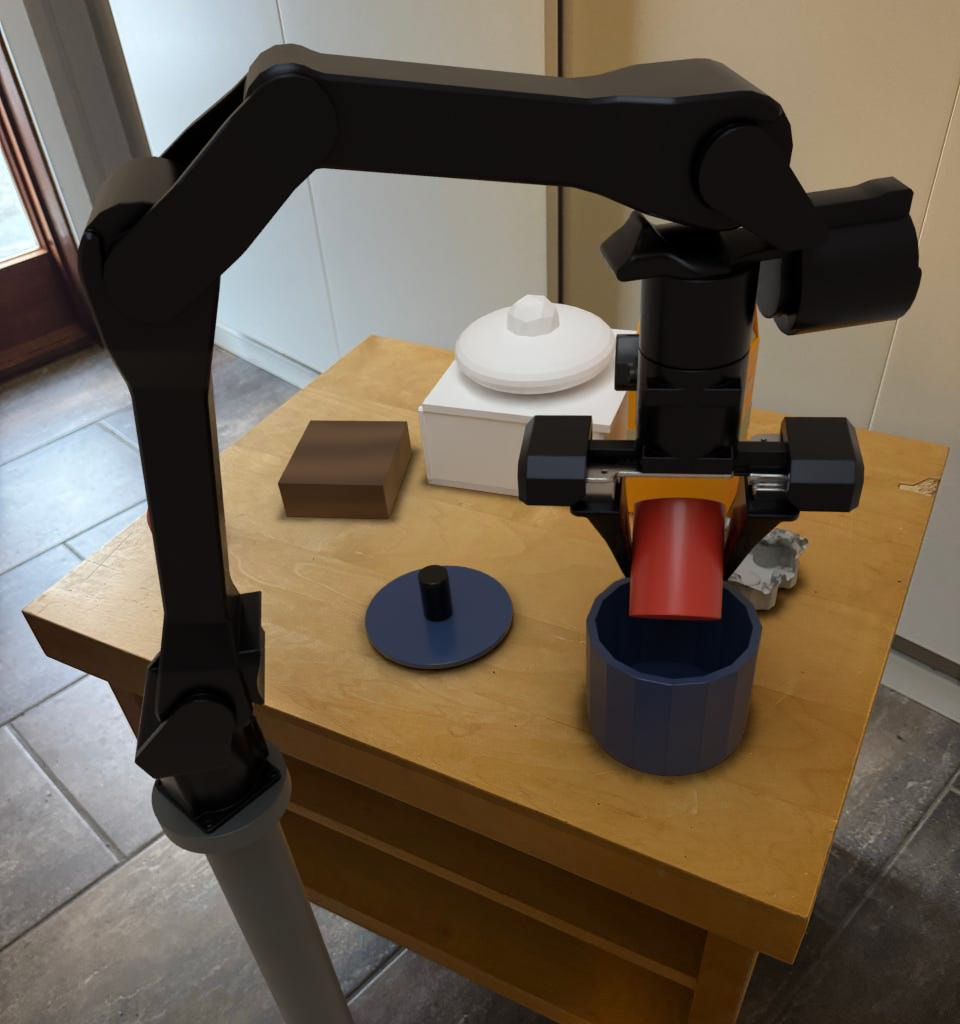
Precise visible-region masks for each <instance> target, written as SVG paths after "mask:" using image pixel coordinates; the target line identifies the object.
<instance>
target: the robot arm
mask: <svg viewBox="0 0 960 1024" xmlns="http://www.w3.org/2000/svg"><path fill="white" fill-rule="evenodd" d="M793 148H794V141H793V131H792V124H791V123H790V120H789V118H788V116H787V114H786V113H785V110H784V108H783V106H782V104H781V103H780V102H778V101H777V100H776V99H774V98H773V97H772V96H770V95H769V94H767V93H766V92H765V91H763V90H762V89H761V88H759V87H757V86H756V85H755V84H753V83H751V82H750V80H747V79H746V78H744V77H743V76H741V75H740V74H739V73H737V72H736V71H734V70H733V69H732V68H730V67H728V65H726V64H724V63H723V62H720V61H717V60H714V59H712V58H708V57H707V58H706V57H705V58H704V57H702V58H701V57H700V58H699V57H698V58H697V57H694V58H684V59H675V60H665V61H656V62H654V61H653V62H646V63H636V64H631V65H628V66H625V67H620V68H618V69H614V70H610V71H607V72H604V73H603V72H602V73H600V74H595V75H586V76H585V75H584V76H576V77H575V76H574V77H565V76H564V77H563V76H556V75H555V76H553V75H544V74H534V73H523V72H513V71H504V70H495V69H494V70H493V69H483V68H474V67H473V68H472V67H463V66H453V65H443V64H433V63H424V62H415V61H414V62H412V61H402V60H393V59H383V58H375V57H374V58H373V57H363V56H354V55H345V54H334V53H323V52H318V51H316V50H313V49H311V48H308V47H306V46H304V45H301V44H298V43H297V44H296V43H281V44H274V45H272V46H270V47H269V48H266V49H265V50H263V51H262V52H260V53H259V54H258V55H257V56H256V58H255V59H254V60H253V62H252V63H251V64H250V65H249V67H248V71H247V72H246V73H245V75H243V77H241V79H240V80H238V81H237V83H236V84H235V85H234V86H233V87H232V88H231V89H230V90H228V91H227V92H226V93H225V94H224V95H222V96H221V97H220V98H219V99H217V100H216V101H215V102H214V103H213V104H212V105H211V106H209V107H208V108H207V109H206V110H205V111H204V112H202V113H201V114H200V115H198V117H197V118H196V119H195V120H193V121H192V122H191V123H190V124H189V125H188V126H187V127H186V128H185V129H184V130H183V131H182V132H181V133H180V134H179V135H178V136H177V137H176V138H175V139H174V140H173V142H171V143H170V144H169V146H168V147H167V148H165V150H164V151H163V152H162V153H161V154H160V155H159V156H155V155H151V156H143V157H134V158H132V159H130V160H128V161H126V162H124V163H122V164H120V165H118V166H116V167H115V168H114V169H113V171H111V173H110V174H109V175H108V176H107V177H106V179H104V180H103V183H102V184H101V186H100V188H99V191H98V194H97V197H96V199H95V200H94V201H95V202H94V204H93V206H92V209H91V211H90V214H89V217H88V220H87V221H86V225H85V227H84V230H83V232H82V234H81V238H80V241H79V244H78V248H77V253H76V254H77V256H76V257H77V261H76V263H77V264H76V269H77V273H78V277H79V278H78V279H79V281H80V284H81V287H82V290H83V293H84V295H85V297H86V301H87V303H88V306H89V309H90V313H91V315H92V317H93V320H94V321H93V322H94V323H95V326H96V328H97V331H98V334H99V337H100V340H101V344H102V345H103V348H104V350H105V351H106V353H107V354H108V356H109V358H110V359H111V361H112V363H113V364H114V366H115V367H116V369H117V371H118V373H119V374H120V376H121V377H122V379H123V381H124V382H125V384H126V387H127V389H128V392H129V394H130V398H131V404H132V405H131V406H132V411H133V417H134V424H135V431H136V432H135V433H136V438H137V444H138V452H139V457H140V463H141V464H140V465H141V471H142V477H143V483H144V490H145V498H146V504H147V509H148V511H149V517H150V524H151V531H152V533H151V536H152V537H151V538H152V543H153V550H154V557H155V563H156V569H157V576H158V582H159V583H158V584H159V590H160V597H161V603H162V607H163V608H162V609H163V618H162V619H163V620H162V631H161V639H160V640H161V641H160V650H159V651H158V652H157V653H156V655H155V656H154V657H153V659H152V660H151V661H150V662H149V663H148V664H147V667H146V673H145V681H144V687H143V694H142V695H143V696H142V703H141V710H140V717H139V725H138V732H137V740H136V747H135V755H134V764H135V765H136V766H137V767H138V768H139V769H141V770H142V771H143V772H144V773H146V774H147V775H148V776H150V777H151V778H152V779H153V780H156V779H158V780H157V781H156V783H155V782H154V783H155V786H156V788H157V790H158V791H159V792H160V793H161V794H162V795H163V796H164V797H165V798H166V799H167V800H168V801H170V802H171V803H172V804H173V805H174V806H175V807H176V808H177V809H178V810H179V811H180V812H182V813H183V814H184V815H185V816H186V817H187V818H188V819H189V820H190V821H191V822H193V823H194V824H195V825H196V826H197V827H198V828H199V829H200V830H201V831H202V832H203V833H205V834H212V833H213V832H215V831H216V830H217V829H219V828H220V827H221V826H223V825H224V824H225V823H226V822H228V821H229V820H230V819H231V818H233V817H234V816H235V815H236V814H238V813H239V812H240V811H241V810H243V809H244V808H245V807H247V806H248V805H249V804H250V803H252V802H253V801H254V800H255V799H257V798H258V797H259V796H260V795H262V794H263V793H264V792H265V791H267V790H268V789H269V788H271V787H272V786H273V785H274V784H276V783H277V782H278V781H279V780H280V779H281V773H280V771H279V769H278V768H276V767H275V766H274V765H273V764H271V763H270V762H269V761H267V760H266V759H265V758H267V757H268V756H269V750H268V747H267V744H266V741H265V738H266V737H265V736H264V733H263V730H262V728H261V725H260V722H259V719H258V717H257V715H256V714H254V706H255V705H258V706H264V705H265V703H266V702H265V701H266V631H265V629H264V627H263V626H262V605H263V604H262V603H263V601H262V600H263V597H262V594H263V592H262V590H256V591H250V592H244V593H241V592H240V591H239V590H238V588H237V587H236V585H235V584H234V582H233V579H232V576H231V573H230V559H229V550H228V536H227V529H226V528H227V526H226V525H227V524H226V515H225V503H224V492H223V481H222V470H221V469H222V468H221V460H220V449H219V437H218V436H219V435H218V426H217V425H218V424H217V414H216V413H217V412H216V403H215V402H216V401H215V393H214V391H215V390H214V380H213V371H212V369H213V368H212V364H213V356H214V347H215V339H216V328H217V319H218V309H219V302H220V291H221V281H222V275H224V274H225V272H226V271H227V270H229V269H230V268H231V267H232V266H233V265H234V264H235V263H236V262H237V261H238V260H239V259H240V258H241V257H242V256H243V255H244V254H245V253H246V251H248V249H249V248H250V247H251V246H252V244H253V243H254V242H255V241H256V240H257V238H258V237H259V235H260V234H261V233H262V232H263V230H264V229H265V228H266V227H267V226H268V224H269V223H270V222H271V220H272V219H273V218H274V216H276V214H277V213H278V212H279V210H280V209H281V208H282V207H283V206H284V204H285V203H286V202H287V200H288V199H289V198H290V197H291V195H292V194H293V193H294V192H295V190H297V188H299V187H300V186H301V185H302V184H303V183H304V181H306V180H307V179H308V178H309V177H310V176H311V175H312V174H313V173H314V172H315V171H317V170H321V169H326V170H341V171H351V172H352V171H354V172H364V173H365V172H366V173H377V174H390V175H391V174H392V175H403V176H417V177H429V178H430V177H431V178H444V179H456V180H469V181H483V182H496V183H508V184H510V183H511V184H522V185H535V186H547V187H562V188H573V189H577V190H581V191H585V192H587V193H592V194H595V195H598V196H600V197H603V198H606V199H608V200H610V201H612V202H616V203H618V204H620V205H622V206H624V207H627V208H629V209H631V210H633V211H631V213H630V215H629V216H628V218H627V219H626V221H625V222H624V224H623V225H622V226H620V227H619V228H618V229H616V230H615V231H613V233H611V234H610V235H609V236H608V237H607V238H606V239H605V240H603V242H601V244H600V246H599V253H600V255H601V256H602V258H603V260H604V261H605V263H606V264H607V266H608V268H609V269H610V270H611V272H612V273H613V275H614V276H615V278H616V279H617V281H619V282H620V283H628V282H636V281H640V301H639V302H640V303H639V318H640V327H639V334H617V335H616V350H615V376H614V389H615V390H616V391H637V393H636V420H635V426H636V432H635V440H592V437H593V420H592V416H586V415H535V416H534V417H533V418H532V419H531V420H530V421H529V422H528V424H527V425H526V427H525V431H524V436H523V441H522V446H521V450H520V455H519V460H518V474H517V478H518V494H519V496H518V500H519V501H520V502H522V503H523V504H524V505H526V506H534V507H535V506H536V507H537V506H539V507H540V506H541V507H569V513H570V514H571V515H572V516H574V517H576V518H586V519H587V520H588V521H589V523H590V524H591V525H592V527H593V528H594V529H595V530H596V532H597V533H598V534H599V535H600V537H601V538H602V539H603V541H604V542H605V544H607V547H608V548H609V550H610V552H611V554H612V557H614V560H615V561H616V563H617V565H618V567H619V569H620V571H621V572H622V575H623V577H624V578H625V577H626V578H631V566H632V531H631V530H632V529H631V523H630V512H629V511H628V503H627V494H626V477H661V478H722V479H730V478H733V476H739V481H738V488H737V493H736V496H735V498H734V501H733V506H732V510H731V513H730V517H729V518H730V521H729V525H728V529H727V533H726V537H725V541H724V563H723V581H727V580H728V579H729V578H730V577H731V575H732V574H733V573H734V572H735V570H736V569H737V568H738V567H739V565H740V564H741V563H742V562H743V560H744V559H745V558H746V556H747V555H748V554H749V553H750V552H751V550H752V549H753V548H754V547H755V546H756V545H757V544H758V543H759V542H760V541H761V540H762V539H763V538H764V537H765V536H766V535H768V534H769V533H770V532H771V531H774V530H775V529H776V528H777V527H778V526H779V525H780V524H781V523H792V522H795V521H797V520H798V519H799V518H800V514H801V512H809V513H810V512H811V513H812V512H814V513H850V512H852V511H853V510H855V509H856V508H858V507H859V505H860V500H861V496H862V492H863V487H864V482H865V463H864V458H863V455H862V450H861V447H860V443H859V439H858V434H857V430H856V427H855V426H854V425H853V424H852V423H851V421H850V420H849V418H847V416H784V417H783V419H782V420H781V422H780V429H779V433H758V434H755V435H753V436H752V437H751V438H750V439H747V440H739V437H740V428H741V420H742V412H743V404H744V395H745V387H746V379H747V370H748V362H749V354H750V345H751V337H752V329H753V321H754V313H755V304H756V306H757V310H758V312H759V313H760V314H761V316H762V317H764V318H765V319H773V322H774V323H775V325H776V327H777V328H778V330H779V331H780V332H781V334H784V335H786V336H788V337H791V336H798V335H805V334H812V333H818V332H819V333H820V332H824V331H832V330H837V329H839V330H840V329H844V328H851V327H857V326H865V325H871V324H878V323H884V322H890V321H891V322H892V321H896V320H899V319H901V318H902V317H904V316H905V315H906V314H907V313H908V312H909V311H910V309H911V308H912V306H913V304H914V302H915V300H916V298H917V295H918V292H919V289H920V286H921V280H922V275H923V271H922V268H921V267H920V266H919V265H920V250H919V240H918V234H917V229H916V226H915V223H914V221H913V219H912V216H911V214H910V213H911V208H912V204H913V198H914V194H915V192H914V190H913V189H912V188H911V187H909V186H908V185H906V184H905V183H903V182H902V181H900V180H899V179H898V178H897V177H895V176H893V175H891V176H886V177H878V178H872V179H869V180H866V181H864V182H863V181H862V182H861V183H859V184H856V185H851V186H845V187H838V188H837V187H836V188H831V189H823V190H816V191H810V192H809V191H808V192H806V191H805V188H804V187H803V185H802V184H801V182H800V181H799V178H797V175H796V174H795V172H794V171H793V169H792V167H791V162H792V156H793V155H792V154H793V150H794V149H793ZM646 216H649V217H653V218H657V219H660V220H664V221H666V223H659V224H658V223H657V224H655V223H652V222H651V221H649V220H648V219H647V217H646ZM667 221H668V222H667ZM151 531H150V532H151ZM254 704H255V705H254ZM275 774H276V775H275ZM272 775H275V776H274V777H271V776H272ZM162 784H163V786H161V785H162ZM209 825H211V827H209V828H206V827H207V826H209Z"/></svg>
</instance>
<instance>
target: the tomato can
mask: <svg viewBox="0 0 960 1024" xmlns="http://www.w3.org/2000/svg"><path fill="white" fill-rule="evenodd" d="M725 517H727V515H726V505H725V504H724V503H721V502H718V501H714V500H708V499H699V498H654V499H646V500H642V501H638V502H636V503H635V504H634V508H633V513H632V531H631V538H632V566H631V578H630V602H629V616H631V617H637V618H648V619H665V620H720V619H721V614H722V590H723V563H724V541H725Z"/></svg>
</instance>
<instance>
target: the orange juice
mask: <svg viewBox="0 0 960 1024" xmlns="http://www.w3.org/2000/svg"><path fill="white" fill-rule="evenodd" d="M758 320H759V319H758V307H757V304H755V313H754V321H753V329H752V337H751V345H750V354H749V362H748V370H747V379H746V387H745V395H744V404H743V412H742V420H741V428H740V437H739V440H748V432H749V428H750V421H751V414H752V405H753V401H752V400H753V394H754V386H755V377H756V372H757V371H756V370H757V362H758V356H759V355H758V354H759V347H760V339H761V336H760V333H759V321H758ZM639 327H640V317H639V318H638V324H637V329H636V331H637V333H636V334H639ZM636 393H637V391H629V400H628V428H627V440H635V432H636V426H635V420H636ZM625 479H626V494H627V503H628V511H629V513H631V514H633V508H634V504H635V503H636V502H638V501H642V500H646V499H654V498H699V499H708V500H714V501H718V502H721V503H724V504H725V505H726V516H727V515H728V513H729V511H730V508H731V507H732V504H733V503H734V501H735V498H736V493H737V488H738V481H739V476H733V478H730V479H722V478H661V477H625Z"/></svg>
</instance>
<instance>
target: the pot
mask: <svg viewBox="0 0 960 1024" xmlns="http://www.w3.org/2000/svg"><path fill="white" fill-rule="evenodd" d="M629 602H630V578H626V577H625V576H624V577H622V578H620V579H618V580H615V581H613V582H612V583H611V584H610V585H608V587H606V588H605V589H604V590H603V591H602V592H600V593H599V594H598V595H597V596H595V598H594V600H593V602H592V604H591V607H590V609H589V612H588V614H587V616H586V619H585V653H586V654H585V659H586V660H585V662H586V663H585V670H586V671H585V672H586V673H585V676H586V678H585V680H586V681H585V683H586V684H585V685H586V686H585V687H586V688H585V691H586V693H585V695H586V696H585V697H586V700H585V702H586V710H587V721H588V725H589V730H590V731H591V734H592V736H593V737H594V739H595V741H596V742H597V744H598V745H599V746H600V748H602V749H603V750H604V751H605V752H606V753H607V754H608V755H610V757H612V758H613V759H615V760H616V761H618V762H619V763H621V764H623V765H625V766H627V767H629V768H631V769H635V770H637V771H640V772H642V773H647V774H652V775H657V776H658V775H659V776H670V777H672V776H685V775H693V774H695V773H700V772H704V771H706V770H709V769H711V768H713V767H715V766H717V765H719V764H720V763H722V762H723V761H725V760H726V759H728V757H730V756H731V755H732V753H734V752H735V751H736V749H737V748H738V746H739V745H740V743H741V741H742V740H743V738H744V734H745V732H746V726H747V721H748V716H749V711H750V705H751V700H752V693H753V686H754V680H755V676H756V669H757V663H758V658H759V651H760V647H761V645H760V644H761V639H762V634H763V626H762V623H761V620H760V617H759V615H758V613H757V610H756V609H755V607H754V605H753V604H752V603H751V602H750V601H749V600H748V599H747V598H746V597H745V596H744V595H743V594H742V593H741V592H740V591H738V590H737V589H736V588H735V587H734V586H733V585H730V584H728V583H726V582H724V581H723V590H722V614H721V619H720V620H665V619H648V618H637V617H631V616H629Z"/></svg>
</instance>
